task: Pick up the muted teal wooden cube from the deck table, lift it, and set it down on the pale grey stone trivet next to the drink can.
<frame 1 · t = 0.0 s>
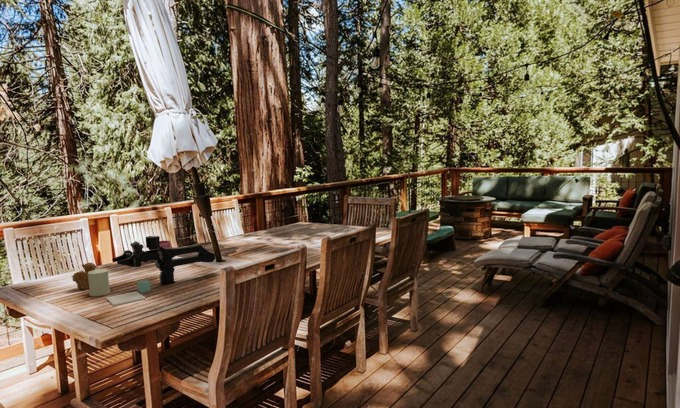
hand: (114, 261, 214), 17 cm above the table, tool horizontal, fingers open, 9 cm apart
plant pot: (160, 261, 286), on the table
cube: (144, 290, 218), on the table
trivet: (125, 299, 205), on the table
stuffed squirrel: (88, 288, 226), on the table
can: (99, 293, 215), on the table
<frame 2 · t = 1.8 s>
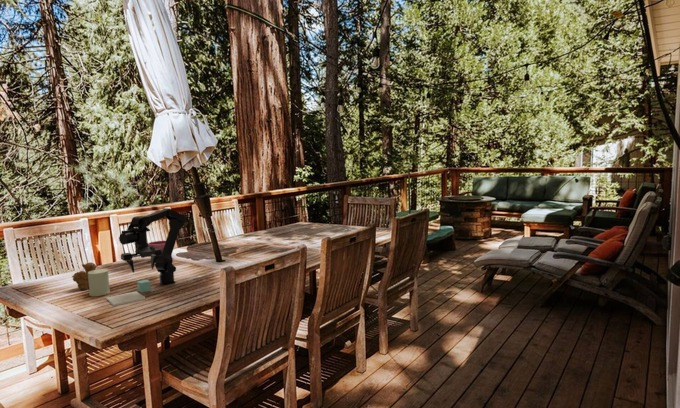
hand: (143, 270, 217), 11 cm above the table, tool pointing down, fingers open, 9 cm apart
nothing on the table moved.
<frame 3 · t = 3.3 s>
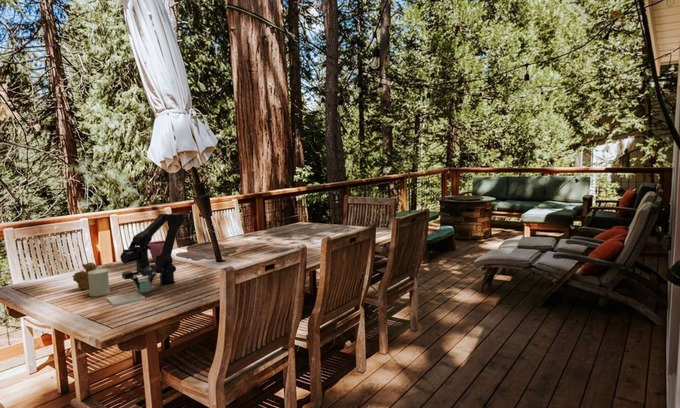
hand: (144, 288, 218), 1 cm above the table, tool pointing down, fingers closed on cube, 5 cm apart
cube: (144, 290, 218), on the table, touching gripper
everything else where it was.
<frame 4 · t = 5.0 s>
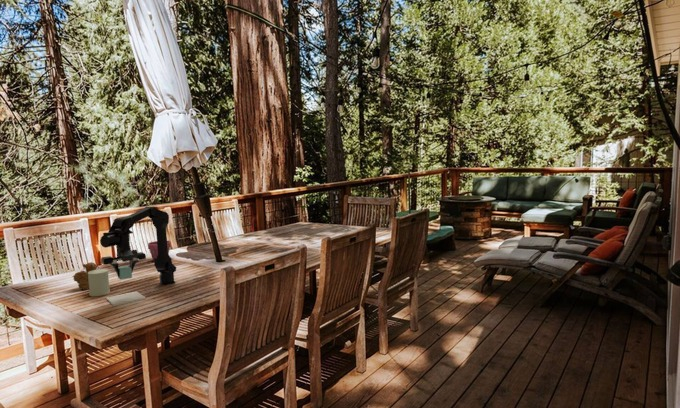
hand: (124, 275, 204), 12 cm above the table, tool pointing down, fingers closed on cube, 5 cm apart
cube: (124, 277, 205), point 11 cm above the table, touching gripper
everything else where it was.
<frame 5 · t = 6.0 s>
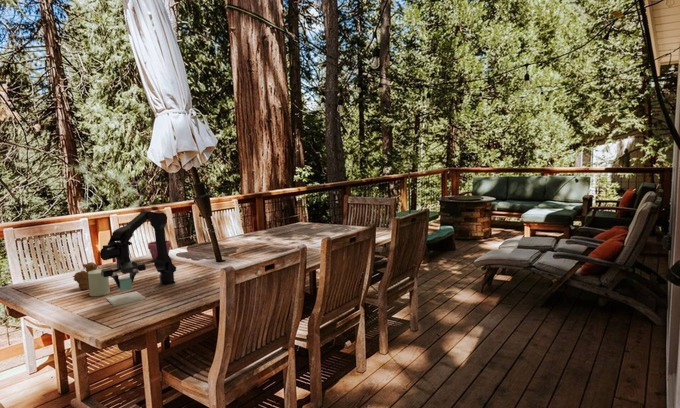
hand: (125, 287, 205), 6 cm above the table, tool pointing down, fingers closed on cube, 5 cm apart
cube: (125, 289, 205), point 5 cm above the table, touching gripper
everything else where it was.
when the fingers open (3 cm above the table, at t = 6.9 s): cube drops 2 cm, resting on trivet.
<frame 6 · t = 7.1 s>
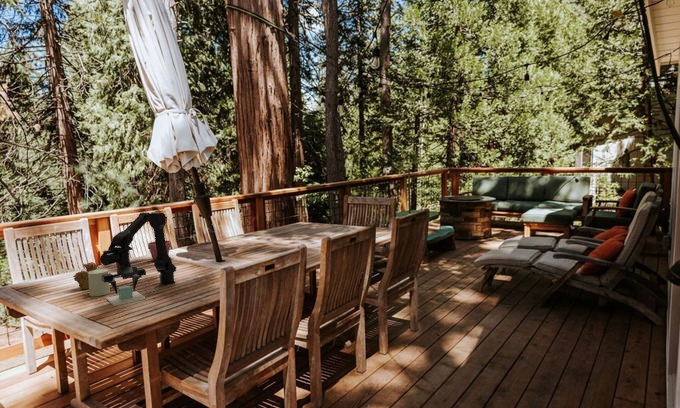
hand: (125, 292, 205), 3 cm above the table, tool pointing down, fingers open, 7 cm apart
cube: (125, 297, 205), point 1 cm above the table, touching trivet
everything else where it was.
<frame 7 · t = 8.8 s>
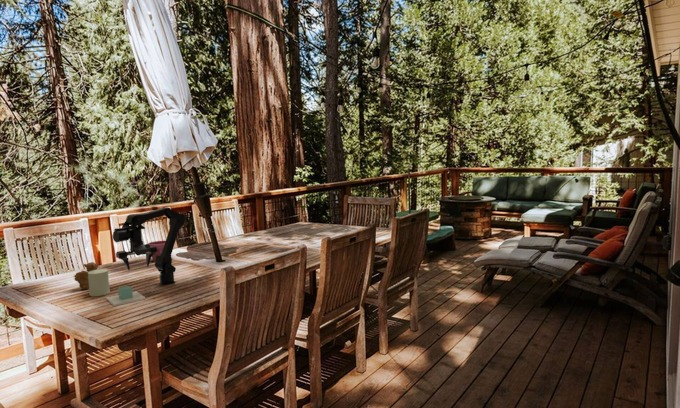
hand: (138, 268, 218), 12 cm above the table, tool pointing down, fingers open, 9 cm apart
nothing on the table moved.
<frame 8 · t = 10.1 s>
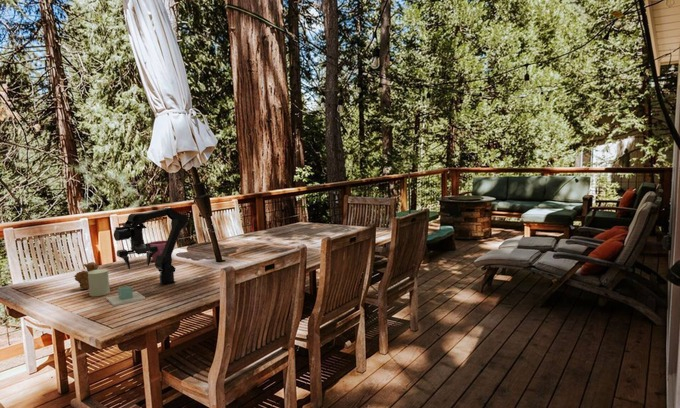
hand: (138, 267, 219), 12 cm above the table, tool pointing down, fingers open, 9 cm apart
at the end: cube inside the target area on the trivet (0.0 cm from its centre), point 0.8 cm above the trivet's base; cube tilted 0°; the gripper is holding nothing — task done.
